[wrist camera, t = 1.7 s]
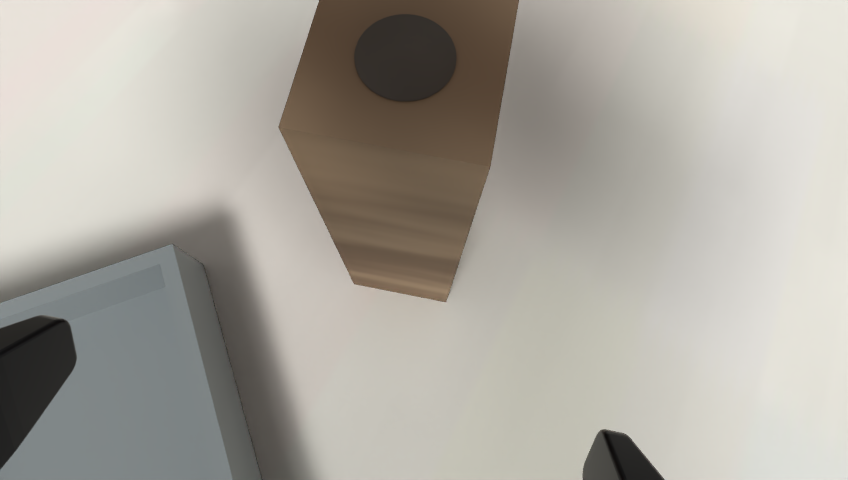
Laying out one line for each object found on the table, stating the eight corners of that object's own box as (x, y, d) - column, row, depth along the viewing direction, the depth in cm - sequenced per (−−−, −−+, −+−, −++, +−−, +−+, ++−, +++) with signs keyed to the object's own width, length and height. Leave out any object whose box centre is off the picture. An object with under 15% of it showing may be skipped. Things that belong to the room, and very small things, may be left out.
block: (445, 302, 22) (490, 165, 9) (354, 283, 22) (277, 125, 9) (461, 215, 23) (520, -7, 11) (374, 199, 23) (331, -40, 11)
